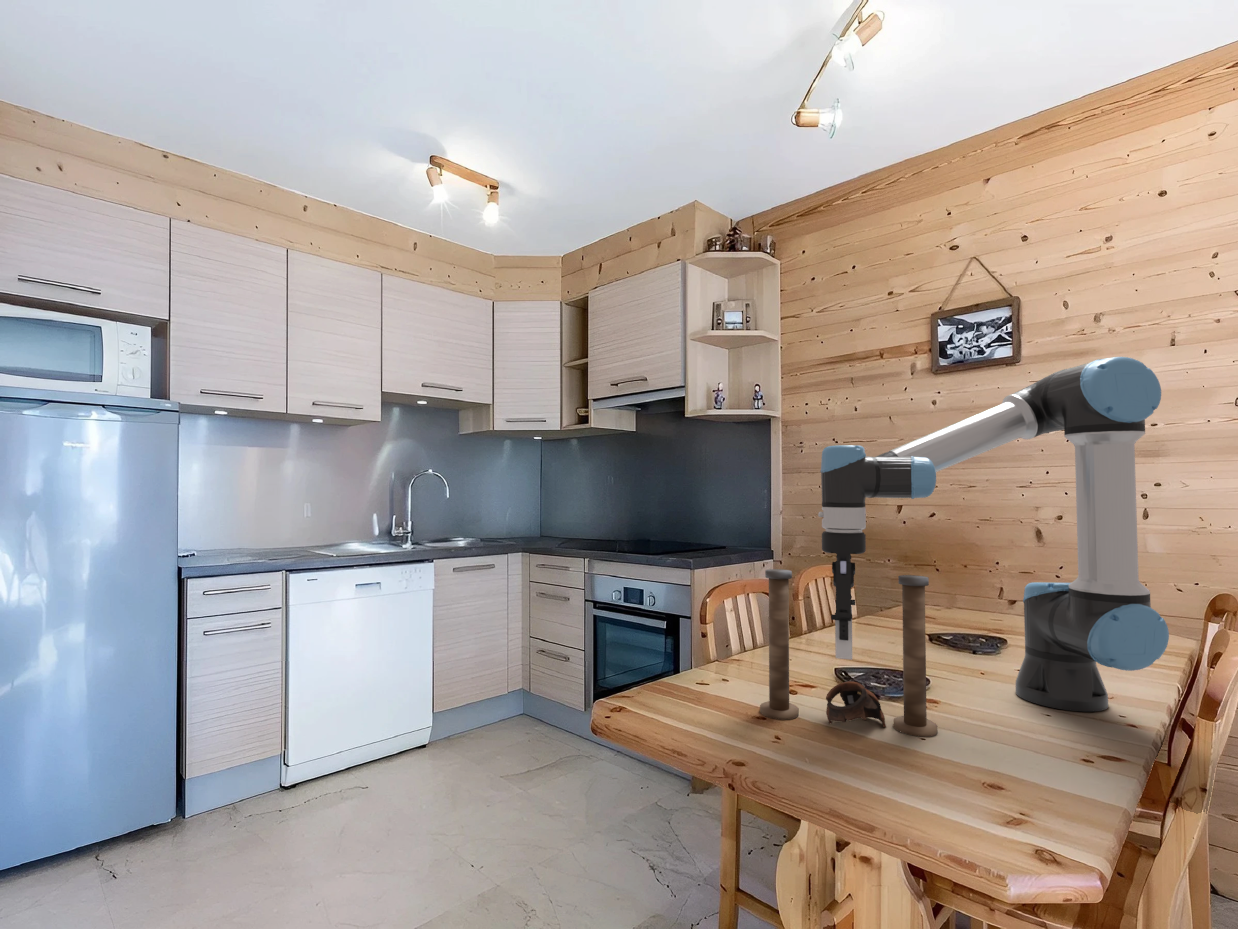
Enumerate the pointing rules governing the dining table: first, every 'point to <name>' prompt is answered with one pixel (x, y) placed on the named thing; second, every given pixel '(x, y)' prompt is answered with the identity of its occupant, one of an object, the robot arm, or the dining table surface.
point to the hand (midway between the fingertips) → (844, 649)
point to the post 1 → (779, 648)
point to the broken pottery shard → (853, 703)
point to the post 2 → (914, 659)
